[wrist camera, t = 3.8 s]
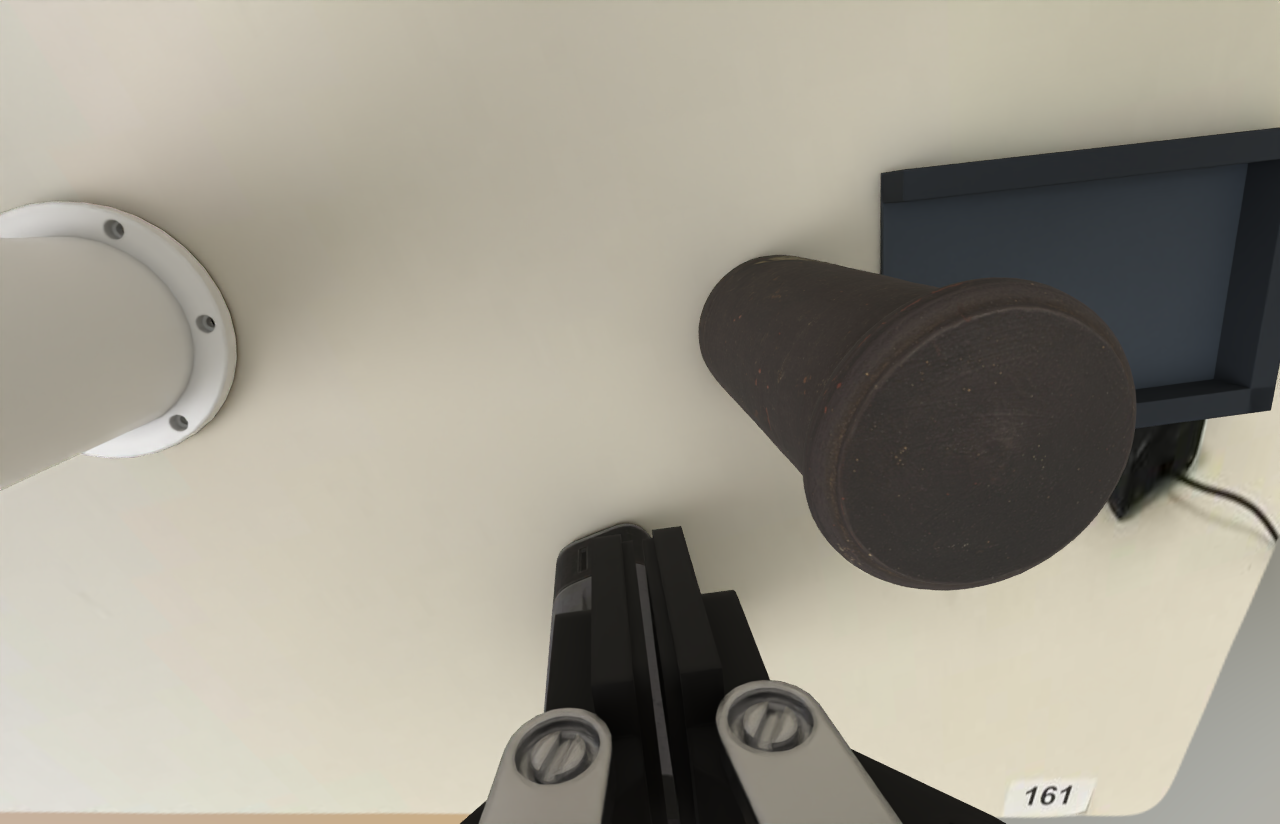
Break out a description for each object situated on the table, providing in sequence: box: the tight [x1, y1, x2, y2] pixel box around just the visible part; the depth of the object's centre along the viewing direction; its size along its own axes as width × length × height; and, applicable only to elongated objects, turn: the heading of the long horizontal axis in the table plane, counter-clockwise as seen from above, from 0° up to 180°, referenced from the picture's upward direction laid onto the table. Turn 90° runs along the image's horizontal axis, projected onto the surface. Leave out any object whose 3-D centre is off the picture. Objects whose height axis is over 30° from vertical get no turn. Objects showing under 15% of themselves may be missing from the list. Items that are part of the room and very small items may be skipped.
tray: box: [881, 128, 1280, 428], centre depth 34 cm, size 22×15×2 cm
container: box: [699, 255, 1136, 590], centre depth 25 cm, size 9×9×20 cm
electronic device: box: [544, 524, 680, 824], centre depth 29 cm, size 9×6×20 cm, turn 22°
